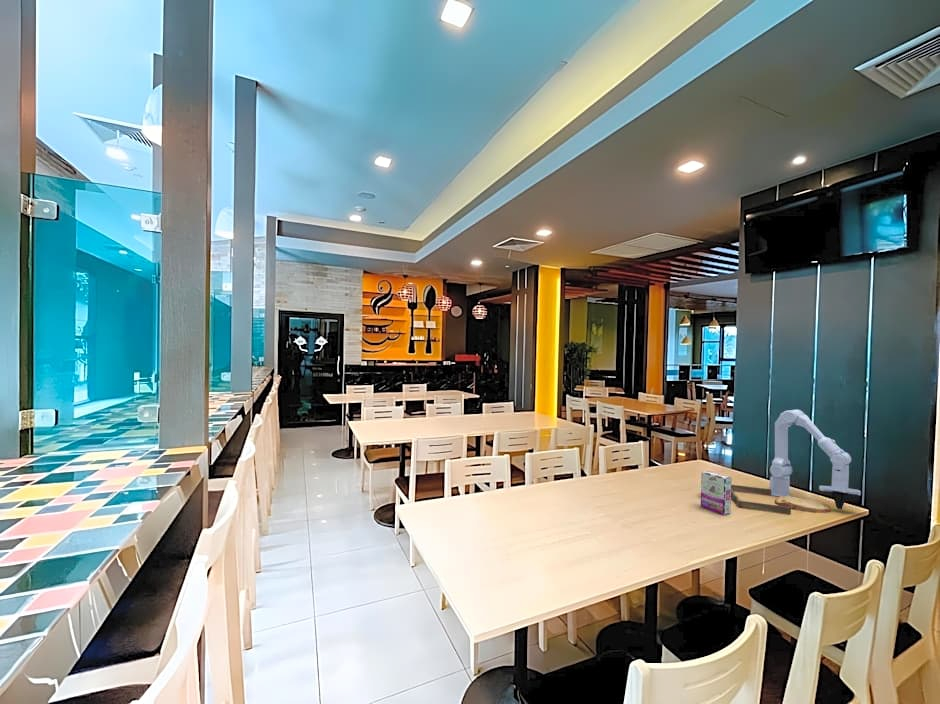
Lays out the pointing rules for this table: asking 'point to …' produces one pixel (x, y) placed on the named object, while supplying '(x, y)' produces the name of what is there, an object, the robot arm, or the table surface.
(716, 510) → the candy bar box
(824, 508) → the bread slice
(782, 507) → the frame
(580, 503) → the table surface
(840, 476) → the robot arm
